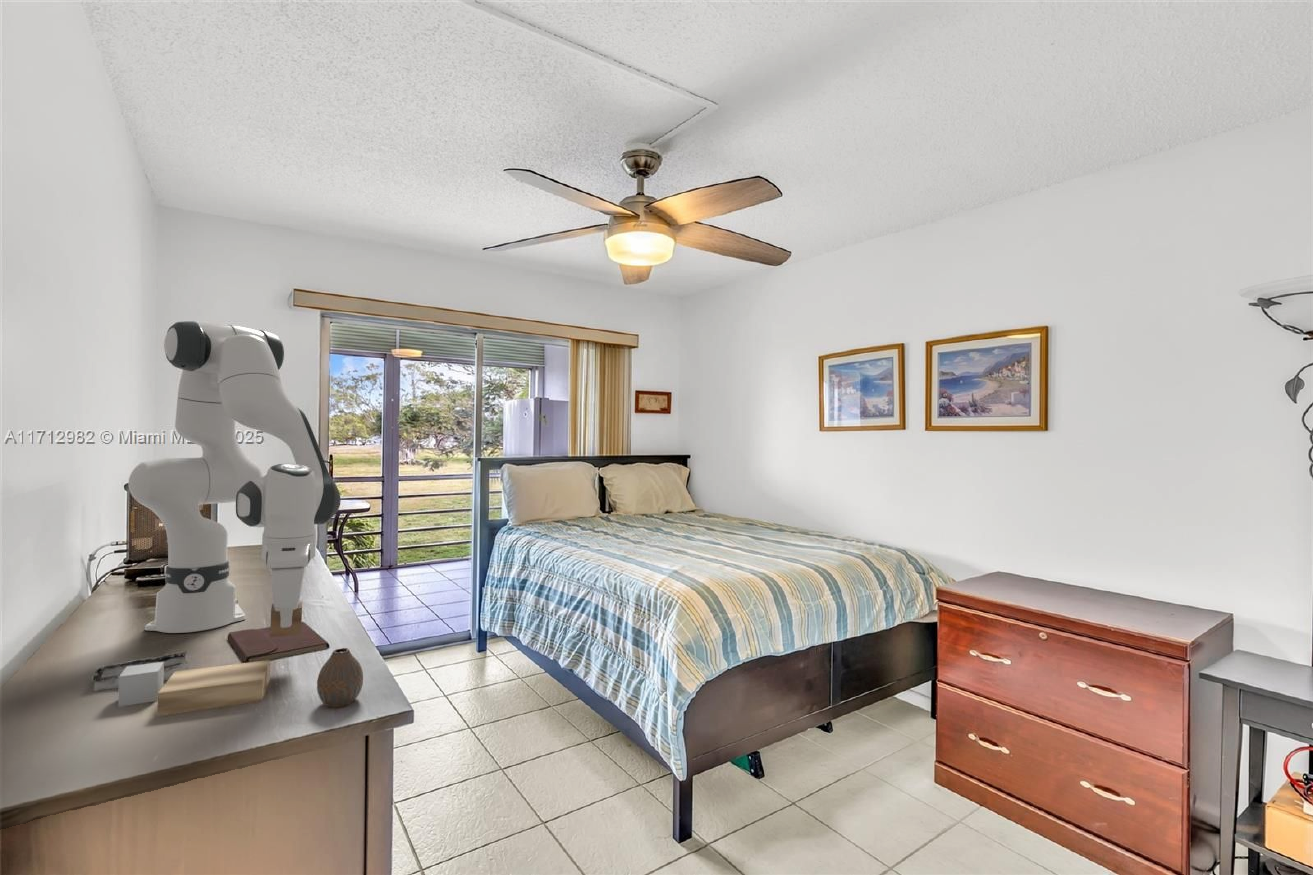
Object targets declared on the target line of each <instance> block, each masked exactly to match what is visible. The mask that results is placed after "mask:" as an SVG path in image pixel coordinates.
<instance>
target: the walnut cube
mask: <svg viewBox="0 0 1313 875" xmlns="http://www.w3.org/2000/svg"><path fill="white" fill-rule="evenodd" d="M302 612H303V601H302V600H299V604H298V607H297V609H295V610H293V614H292V625H291V626H290V627H285V628H282V627H281V626H280V624H281V617H280V611H275V609H274V604H273V603H272V604H271V609H270V626H269V627H270V637H279V636H288V635H297V634H301V623H302V622H303V621H302V617H303V615H302V614H303V613H302Z"/></svg>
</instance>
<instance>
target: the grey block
mask: <svg viewBox="0 0 1313 875" xmlns="http://www.w3.org/2000/svg"><path fill="white" fill-rule="evenodd" d="M164 670H165V666H164V662H158V663H150V664H142V665H135V666H127V667H126V668H125V669H124V671H123V672H122V673H121V674H120V675H118V676H119V687H118V703H117V706H118V708H119V707H126V705H127V706H133V705H139V704H140V705H141V704H145V703H151V702H152V701H153V702H158V701H157V700H158V692H159V691H160V690H161V689H162V687H163V686H164V681H165V680H164Z"/></svg>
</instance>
